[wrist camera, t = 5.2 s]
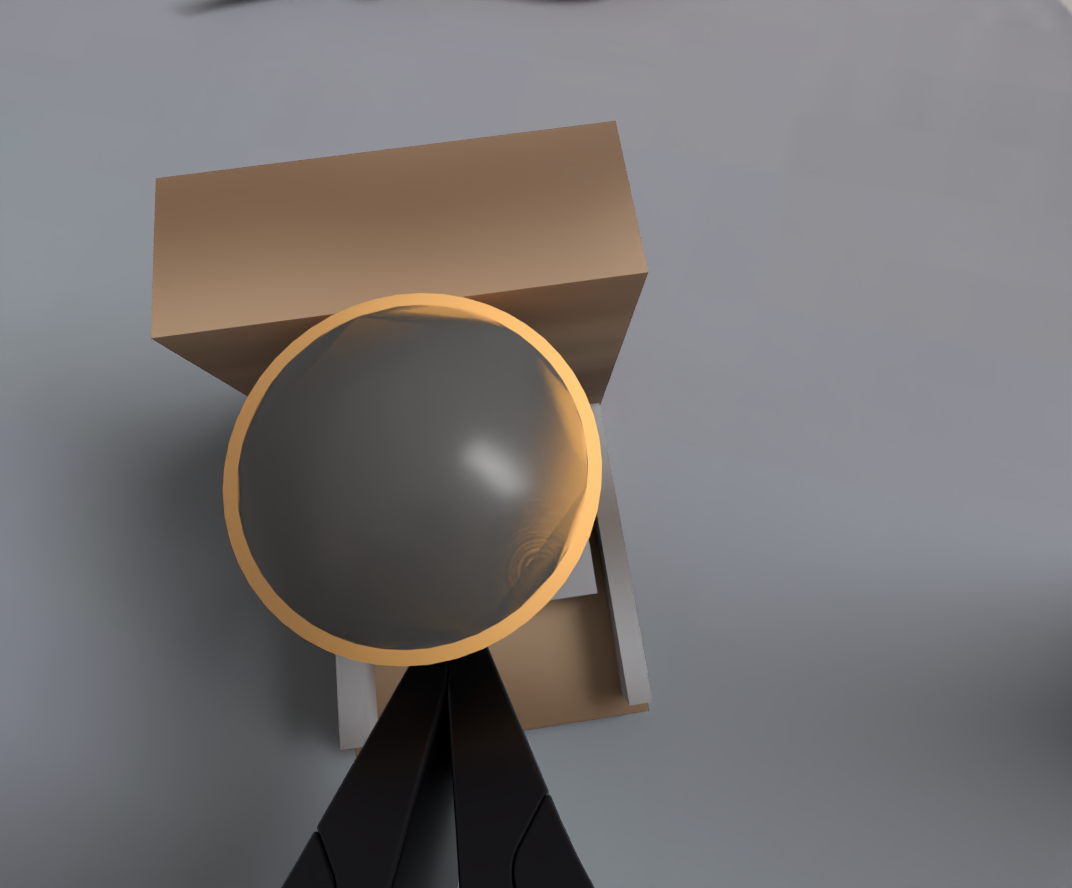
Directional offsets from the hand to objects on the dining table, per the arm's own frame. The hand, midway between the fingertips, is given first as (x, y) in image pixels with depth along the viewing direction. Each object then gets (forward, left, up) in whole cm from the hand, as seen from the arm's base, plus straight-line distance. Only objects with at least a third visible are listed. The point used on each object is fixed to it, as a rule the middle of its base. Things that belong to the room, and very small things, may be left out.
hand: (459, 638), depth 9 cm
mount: (+2, -2, -7) cm, 8 cm away
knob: (+2, -2, -5) cm, 6 cm away
